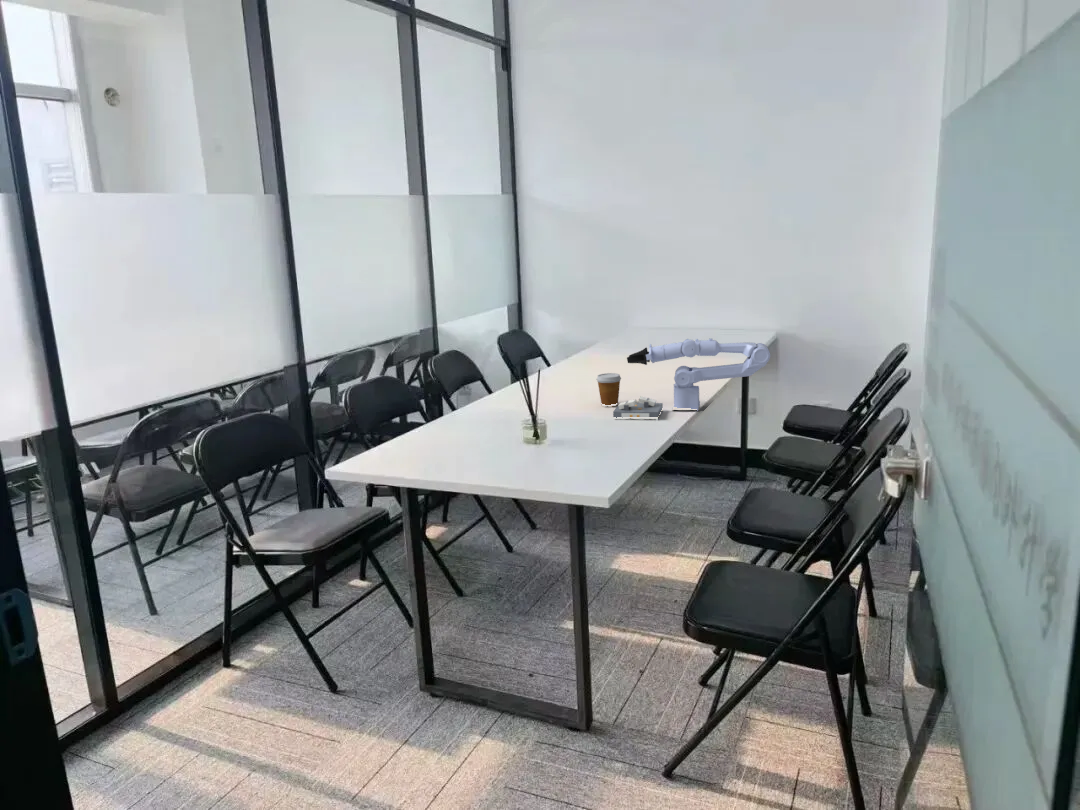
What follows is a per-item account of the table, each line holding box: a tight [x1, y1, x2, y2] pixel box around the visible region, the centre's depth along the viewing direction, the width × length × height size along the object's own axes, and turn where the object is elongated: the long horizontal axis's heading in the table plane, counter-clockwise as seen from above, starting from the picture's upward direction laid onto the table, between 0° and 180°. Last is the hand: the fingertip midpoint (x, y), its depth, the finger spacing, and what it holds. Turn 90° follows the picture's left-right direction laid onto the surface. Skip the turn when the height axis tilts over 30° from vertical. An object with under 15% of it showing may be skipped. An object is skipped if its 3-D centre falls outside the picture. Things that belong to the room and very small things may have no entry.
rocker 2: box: [637, 395, 657, 406], centre depth 289 cm, size 6×4×2 cm, turn 74°
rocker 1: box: [618, 398, 638, 409], centre depth 286 cm, size 6×4×2 cm, turn 74°
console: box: [612, 402, 664, 418], centre depth 288 cm, size 16×14×5 cm
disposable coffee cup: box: [596, 372, 622, 405], centre depth 305 cm, size 10×10×12 cm
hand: (628, 359), depth 294 cm, fingers open, 7 cm apart
